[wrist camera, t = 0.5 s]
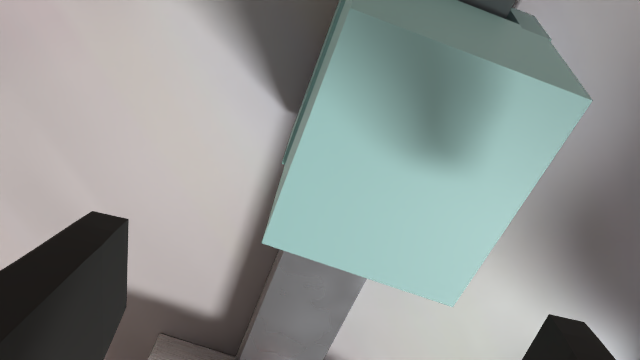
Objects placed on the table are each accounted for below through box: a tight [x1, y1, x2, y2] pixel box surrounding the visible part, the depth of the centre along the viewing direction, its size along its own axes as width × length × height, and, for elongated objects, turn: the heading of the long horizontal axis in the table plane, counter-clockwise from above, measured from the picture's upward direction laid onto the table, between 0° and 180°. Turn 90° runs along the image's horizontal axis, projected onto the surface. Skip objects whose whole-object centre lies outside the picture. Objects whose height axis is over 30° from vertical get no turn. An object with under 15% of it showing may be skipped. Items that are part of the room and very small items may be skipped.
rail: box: [235, 0, 516, 360], centre depth 20 cm, size 3×19×2 cm, turn 160°
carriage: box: [262, 0, 593, 307], centre depth 15 cm, size 5×6×6 cm
